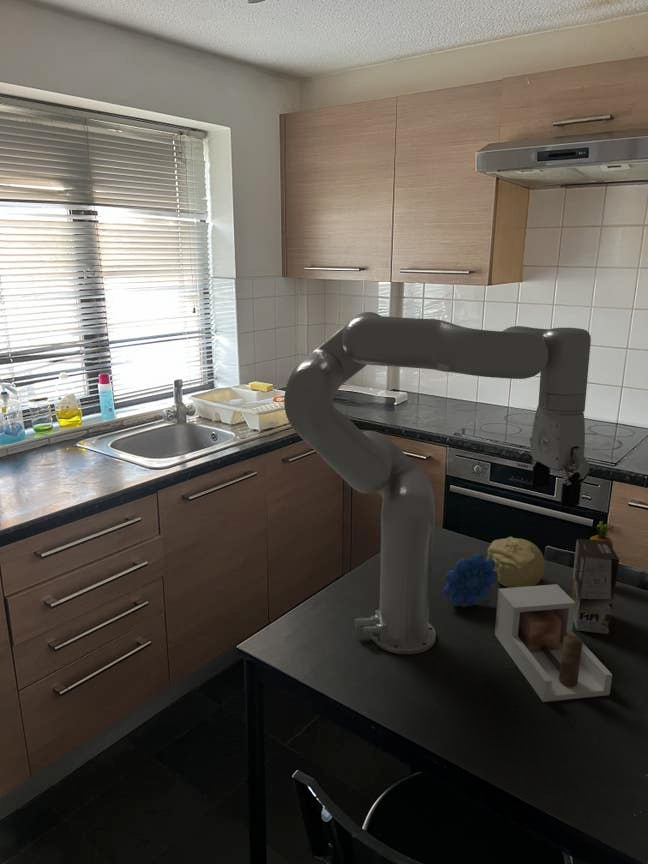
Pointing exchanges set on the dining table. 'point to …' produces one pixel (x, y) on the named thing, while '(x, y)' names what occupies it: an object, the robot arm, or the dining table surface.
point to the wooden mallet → (551, 642)
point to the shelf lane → (536, 663)
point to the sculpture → (517, 562)
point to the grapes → (470, 580)
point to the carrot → (602, 533)
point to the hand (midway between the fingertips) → (554, 495)
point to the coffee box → (594, 585)
